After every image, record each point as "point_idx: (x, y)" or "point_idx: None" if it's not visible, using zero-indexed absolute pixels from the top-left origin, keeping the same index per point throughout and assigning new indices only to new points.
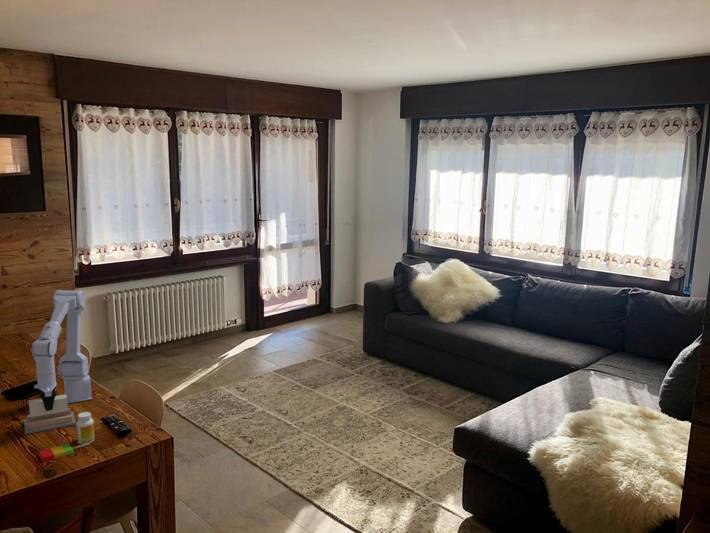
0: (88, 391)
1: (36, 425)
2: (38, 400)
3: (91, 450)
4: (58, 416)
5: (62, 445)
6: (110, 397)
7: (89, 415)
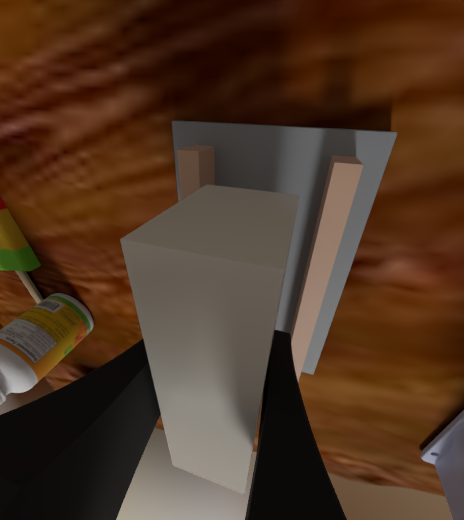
0: (453, 504)
1: None
2: (208, 354)
3: (21, 301)
4: (291, 317)
5: (8, 252)
6: (378, 477)
7: None
